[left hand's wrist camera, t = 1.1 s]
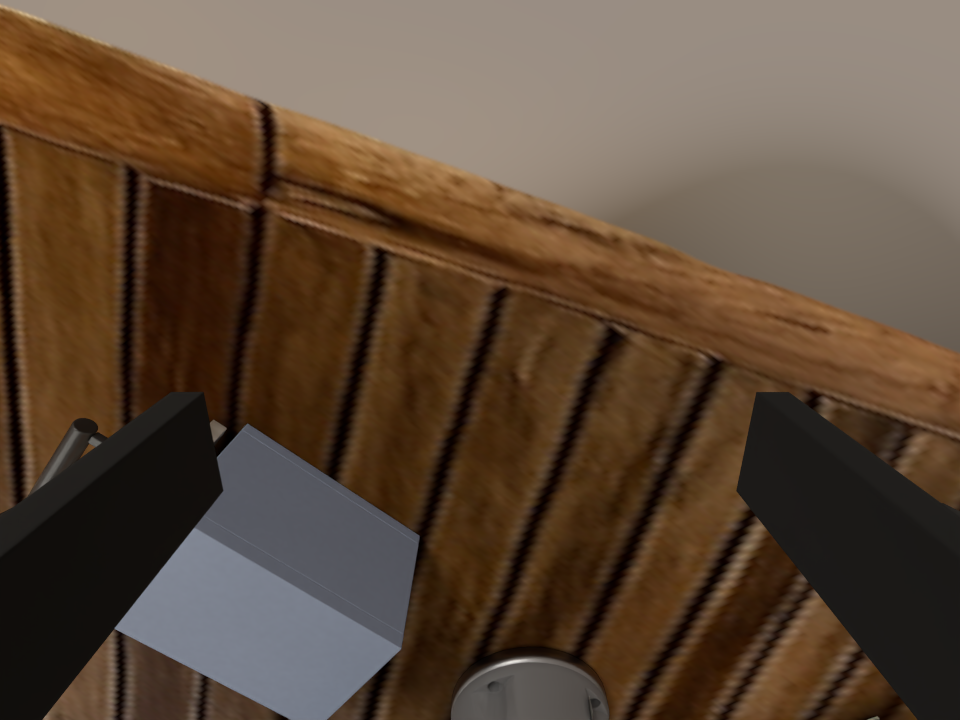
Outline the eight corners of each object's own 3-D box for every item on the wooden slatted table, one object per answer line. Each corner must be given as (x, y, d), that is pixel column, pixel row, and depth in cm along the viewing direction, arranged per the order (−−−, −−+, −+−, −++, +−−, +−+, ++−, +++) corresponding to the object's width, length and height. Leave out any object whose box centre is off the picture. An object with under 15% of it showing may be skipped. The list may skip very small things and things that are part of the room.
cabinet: (183, 508, 43) (90, 616, 33) (247, 423, 41) (167, 512, 30) (350, 607, 47) (314, 732, 37) (420, 535, 44) (401, 649, 34)
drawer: (88, 457, 41) (-15, 535, 32) (142, 373, 38) (46, 433, 30) (319, 593, 45) (281, 691, 37) (380, 526, 43) (356, 615, 34)
